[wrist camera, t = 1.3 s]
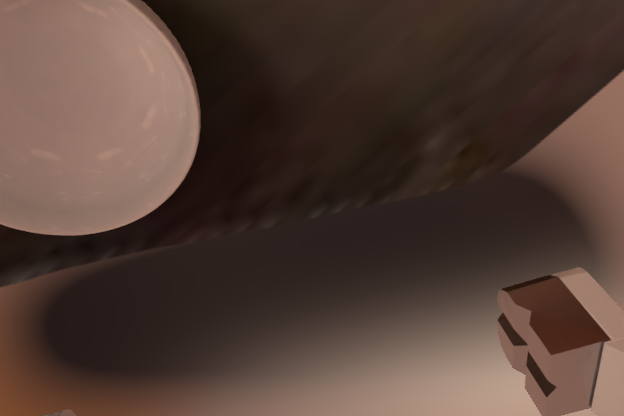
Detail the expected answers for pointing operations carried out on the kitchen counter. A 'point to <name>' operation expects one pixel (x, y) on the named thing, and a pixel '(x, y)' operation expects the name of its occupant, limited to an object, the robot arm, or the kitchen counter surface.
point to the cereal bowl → (91, 114)
